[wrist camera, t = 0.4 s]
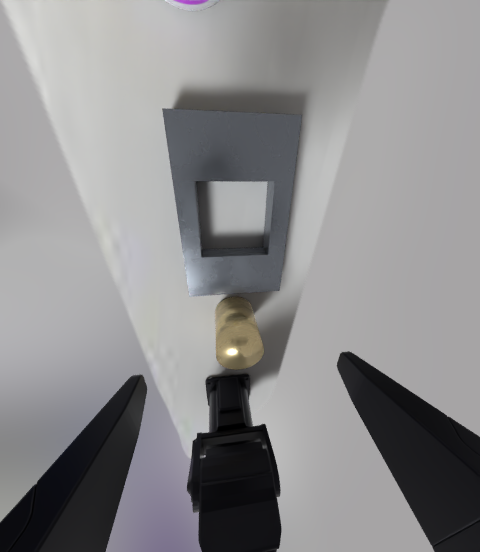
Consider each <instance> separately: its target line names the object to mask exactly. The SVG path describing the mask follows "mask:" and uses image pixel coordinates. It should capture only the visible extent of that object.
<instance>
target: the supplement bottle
mask: <svg viewBox="0 0 480 552" xmlns="http://www.w3.org/2000/svg"><path fill="white" fill-rule="evenodd" d="M165 1H167V2H168V3H170V4H171V5H173V6H175V7H177V8H180V9H183V10H187V11H199V10H203V9H206V8H209V7H211V6H212V5H214V4H216V3H217V2H218V1H219V0H165Z"/></svg>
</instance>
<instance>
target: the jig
mask: <svg viewBox="0 0 480 552" xmlns="http://www.w3.org/2000/svg"><path fill="white" fill-rule="evenodd" d="M162 110H163V117H164V124H165V131H166V138H167V145H168V151H169V158H170V165H171V172H172V179H173V186H174V193H175V200H176V207H177V214H178V221H179V228H180V235H181V242H182V249H183V256H184V263H185V270H186V276H187V283H188V290H189V296H204V295H220V294H235V293H250V292H266V291H279V290H280V283H281V275H282V267H283V259H284V251H285V244H286V236H287V228H288V220H289V212H290V205H291V197H292V189H293V181H294V174H295V166H296V158H297V150H298V142H299V135H300V127H301V119H302V115H294V114H272V113H250V112H228V111H206V110H185V109H163V108H162ZM196 181H268V186H267V200H266V214H265V228H264V242H263V247H254V248H228V249H202V239H201V228H200V217H199V206H198V195H197V184H196Z"/></svg>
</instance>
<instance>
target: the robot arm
mask: <svg viewBox="0 0 480 552" xmlns="http://www.w3.org/2000/svg"><path fill="white" fill-rule="evenodd" d="M337 368H338V371H339V373H340V375H341V377H342V380H343V382H344V384H345V387H346V388H347V391H348V393H349V396H350V398H351V400H352V402H353V404H354V405H355V408H356V409H357V411H358V413H359V415H360V417H361V419H362V420H363V422H364V424H365V426H366V428H367V429H368V431H369V433H370V435H371V437H372V439H373V440H374V442H375V444H376V446H377V448H378V449H379V451H380V453H381V455H382V457H383V459H384V460H385V462H386V464H387V466H388V468H389V469H390V471H391V473H392V475H393V477H394V478H395V480H396V482H397V484H398V486H399V487H400V489H401V491H402V493H403V494H404V497H405V498H406V500H407V502H408V504H409V506H410V508H411V509H412V511H413V513H414V515H415V517H416V518H417V520H418V522H419V524H420V526H421V527H422V529H423V531H424V533H425V535H426V537H427V538H428V540H429V542H430V544H431V545H432V547H433V549H434V551H435V552H480V437H479V436H478V435H476V434H474V433H473V432H472V431H470V430H468V429H466V428H465V427H464V426H462V425H461V424H459V423H458V422H456V421H455V420H453V419H452V418H450V417H447V415H445V414H444V413H442V412H441V411H439V410H438V409H436V408H435V407H433V406H432V405H430V404H429V403H427V402H426V401H424V400H423V399H421V398H420V397H418V396H417V395H415V394H414V393H412V392H410V391H409V390H408V389H406V388H404V387H403V386H402V385H400V384H399V383H397V382H395V381H394V380H393V379H391V378H389V377H388V376H386V375H385V374H383V373H382V372H380V371H379V370H377V369H376V368H374V367H373V366H371V365H370V364H368V363H367V362H365V361H364V360H362V359H360V358H359V357H358V356H356V355H354V354H353V353H351V352H342V353H341V354H340V357H339V360H338V362H337ZM249 388H250V376H249V375H248V374H245V375H237V376H228V377H219V378H211V379H207V380H206V391H207V399H208V405H209V406H210V410H209V432H208V433H197V438H196V439H195V440H194V441H193V446H192V458H191V465H190V471H189V477H188V483H187V491H188V493H189V494H190V496H191V502H193V512H194V513H195V512H199V544H200V547H201V550H202V552H276V550H277V549H279V545H280V538H281V522H280V515H279V509H278V502H277V497H279V496H280V481H279V474H278V469H277V464H276V460H275V456H274V453H273V449H272V446H271V442H270V439H269V435H268V432H267V428H266V425H265V424H262V425H259V426H253V424H252V418H251V412H250V406H249ZM146 394H147V386H146V383H145V380H144V377H143V375H133V376H131V377H130V378H129V379H128V380H127V381H126V382H125V384H124V385H123V386H122V387H121V388H120V389H119V391H117V393H116V394H115V395H114V396H113V397H112V398H111V399H110V400H109V402H108V403H107V404H106V405H105V406H104V407H103V408H102V409H101V411H100V412H99V413H98V414H97V415H96V416H95V417H94V419H93V420H92V421H91V422H90V423H89V424H88V425H87V426H86V428H84V430H83V431H82V432H81V433H80V434H79V435H78V436H77V437H76V439H75V440H74V441H73V442H72V443H71V444H70V446H68V448H67V449H66V450H65V451H64V452H63V453H62V455H60V457H59V458H58V459H57V460H56V461H55V462H54V463H53V464H52V466H51V467H50V468H49V469H48V470H47V471H46V472H45V473H44V474H43V476H42V477H41V478H40V479H39V480H38V482H37V484H35V485H34V486H33V487H32V488H31V489H30V490H29V491H28V492H27V493H26V495H25V496H24V497H23V498H22V499H21V500H20V501H19V502H18V504H17V505H16V506H15V507H14V508H13V509H12V510H11V511H10V512H9V513H8V514H7V515H6V517H5V518H4V519H3V520H2V521H1V522H0V552H105V551H106V548H107V544H108V541H109V537H110V534H111V530H112V527H113V523H114V520H115V516H116V513H117V509H118V506H119V502H120V499H121V495H122V492H123V488H124V485H125V481H126V478H127V474H128V471H129V467H130V464H131V460H132V457H133V453H134V450H135V446H136V443H137V439H138V435H139V431H140V426H141V421H142V415H143V410H144V404H145V399H146ZM204 455H206V457H205V458H204Z"/></svg>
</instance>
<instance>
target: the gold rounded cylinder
mask: <svg viewBox="0 0 480 552" xmlns="http://www.w3.org/2000/svg"><path fill="white" fill-rule="evenodd" d="M215 324H216V358H217V361H218V362H219V363H220V364H221V365H222V366H223V367H225V368H228V369H234V370H239V369H245V368H248V367H251V366H253V365H255V364H256V363H257V362H258V361H259V360H260V359H261V358H262V356H263V354H264V347H263V344H262V340H261V337H260V333H259V330H258V327H257V323H256V320H255V316H254V313H253V310H252V306H251V304H250V303H249V302H248V301H247V300H246V299H244V298H242V297H229V298H226V299H224V300H222V301H221V302H220V303H219V304H218V305H217V307H216V310H215Z"/></svg>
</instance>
